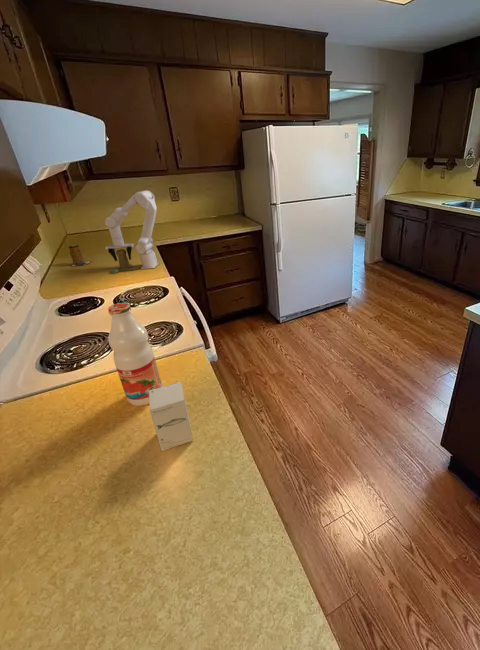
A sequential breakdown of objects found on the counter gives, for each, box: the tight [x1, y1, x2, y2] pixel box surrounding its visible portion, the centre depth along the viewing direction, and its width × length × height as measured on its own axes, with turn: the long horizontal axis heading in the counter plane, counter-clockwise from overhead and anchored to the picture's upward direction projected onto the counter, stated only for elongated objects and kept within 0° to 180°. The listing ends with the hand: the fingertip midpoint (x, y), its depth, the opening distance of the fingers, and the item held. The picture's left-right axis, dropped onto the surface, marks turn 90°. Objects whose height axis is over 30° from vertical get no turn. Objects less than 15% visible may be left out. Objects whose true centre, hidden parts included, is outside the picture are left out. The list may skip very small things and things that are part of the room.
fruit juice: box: [107, 301, 163, 407], centre depth 87 cm, size 9×9×28 cm
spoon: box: [109, 267, 139, 274], centre depth 193 cm, size 15×4×1 cm, turn 107°
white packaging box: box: [148, 381, 194, 452], centre depth 76 cm, size 7×7×13 cm
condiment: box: [68, 244, 91, 267], centre depth 206 cm, size 7×8×12 cm
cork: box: [115, 248, 132, 270], centre depth 197 cm, size 6×6×11 cm
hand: (123, 260), depth 197 cm, fingers open, 7 cm apart
